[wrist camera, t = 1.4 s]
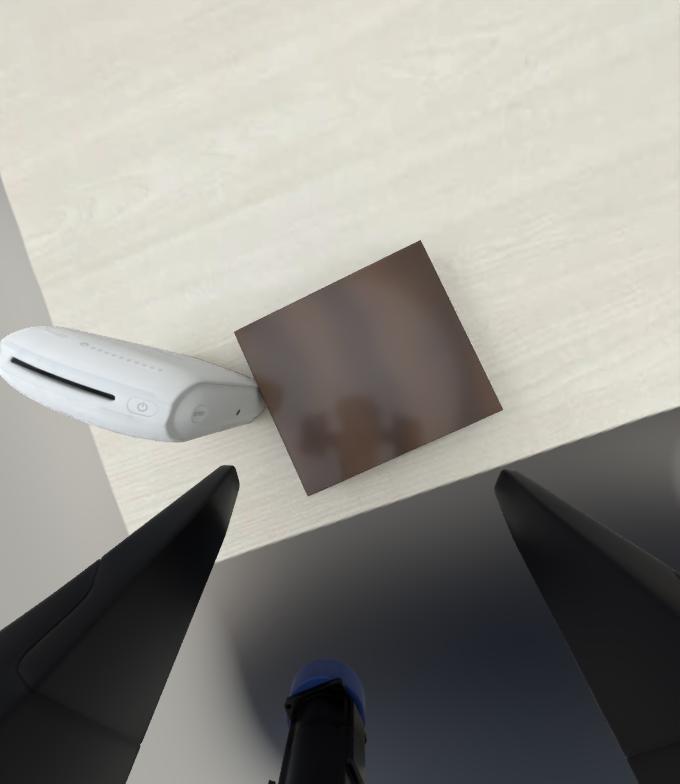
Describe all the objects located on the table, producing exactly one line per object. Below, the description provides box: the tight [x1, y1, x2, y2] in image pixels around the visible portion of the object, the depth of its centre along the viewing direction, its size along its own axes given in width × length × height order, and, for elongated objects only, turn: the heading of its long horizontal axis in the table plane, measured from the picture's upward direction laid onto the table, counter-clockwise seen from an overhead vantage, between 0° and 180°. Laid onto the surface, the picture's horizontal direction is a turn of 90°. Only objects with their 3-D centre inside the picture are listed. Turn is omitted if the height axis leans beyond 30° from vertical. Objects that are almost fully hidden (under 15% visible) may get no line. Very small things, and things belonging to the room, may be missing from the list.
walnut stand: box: [234, 240, 503, 496], centre depth 21 cm, size 17×15×2 cm
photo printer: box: [0, 326, 266, 442], centre depth 17 cm, size 10×4×12 cm, turn 71°
